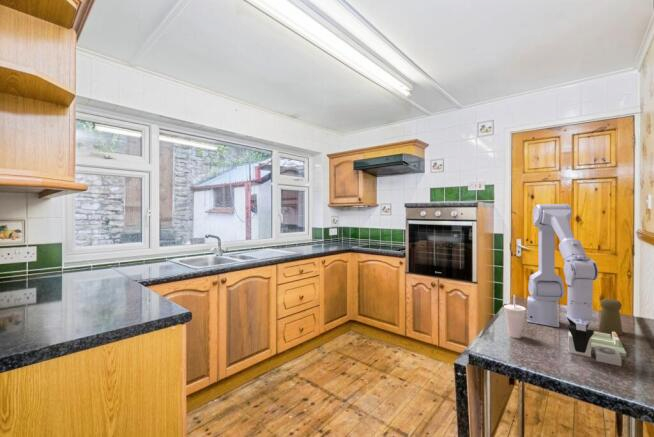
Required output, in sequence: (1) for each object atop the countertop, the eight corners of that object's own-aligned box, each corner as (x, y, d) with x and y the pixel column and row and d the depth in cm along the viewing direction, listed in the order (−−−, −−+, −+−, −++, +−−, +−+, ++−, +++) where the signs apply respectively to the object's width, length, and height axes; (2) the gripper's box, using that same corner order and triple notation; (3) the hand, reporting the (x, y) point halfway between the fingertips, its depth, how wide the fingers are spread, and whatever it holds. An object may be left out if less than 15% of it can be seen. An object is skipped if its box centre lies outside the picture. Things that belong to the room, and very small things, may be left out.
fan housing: (596, 361, 85) (596, 351, 85) (594, 352, 90) (594, 343, 90) (621, 366, 82) (621, 356, 82) (617, 357, 87) (617, 347, 87)
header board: (572, 346, 94) (572, 335, 94) (570, 332, 104) (570, 323, 103) (626, 357, 87) (626, 345, 87) (619, 341, 96) (619, 331, 96)
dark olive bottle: (616, 329, 106) (617, 297, 106) (627, 336, 100) (627, 302, 100) (595, 327, 108) (595, 296, 108) (604, 333, 102) (604, 301, 102)
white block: (568, 352, 90) (568, 335, 90) (568, 347, 93) (568, 330, 93) (591, 357, 87) (591, 339, 87) (589, 351, 90) (589, 334, 90)
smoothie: (501, 336, 102) (501, 294, 101) (506, 330, 107) (506, 290, 106) (523, 341, 98) (524, 298, 97) (527, 335, 102) (528, 293, 102)
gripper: (601, 310, 81) (600, 360, 82) (595, 297, 93) (594, 341, 94) (567, 305, 86) (566, 353, 86) (565, 293, 97) (565, 335, 98)
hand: (579, 346), depth 90 cm, fingers open, 7 cm apart
